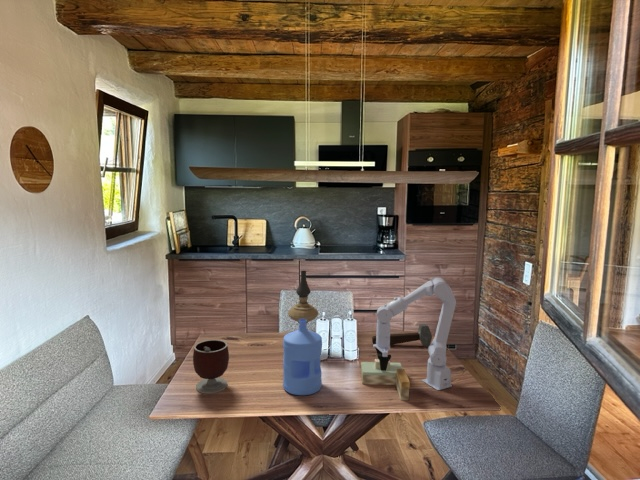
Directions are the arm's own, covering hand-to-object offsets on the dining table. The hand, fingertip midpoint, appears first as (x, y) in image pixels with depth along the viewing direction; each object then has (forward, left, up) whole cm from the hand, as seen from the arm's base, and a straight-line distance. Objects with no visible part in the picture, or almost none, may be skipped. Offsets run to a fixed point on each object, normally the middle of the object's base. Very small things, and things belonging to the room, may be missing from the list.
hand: (382, 366), depth 172 cm
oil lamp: (+42, +17, -6) cm, 46 cm away
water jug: (+9, +33, -6) cm, 35 cm away
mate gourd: (+25, +66, -6) cm, 71 cm away
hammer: (+25, -31, -6) cm, 41 cm away
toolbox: (-5, +3, -6) cm, 8 cm away
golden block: (-14, 0, 0) cm, 14 cm away
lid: (0, 0, -2) cm, 2 cm away
